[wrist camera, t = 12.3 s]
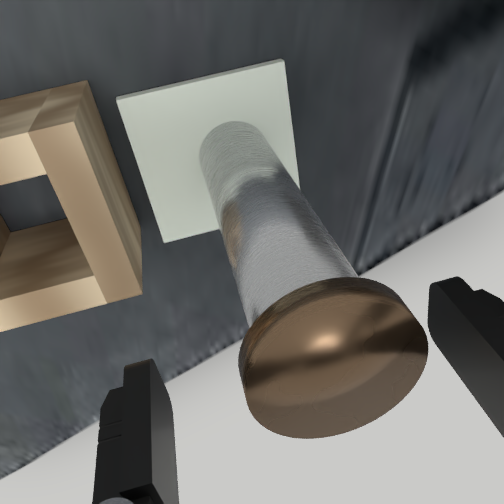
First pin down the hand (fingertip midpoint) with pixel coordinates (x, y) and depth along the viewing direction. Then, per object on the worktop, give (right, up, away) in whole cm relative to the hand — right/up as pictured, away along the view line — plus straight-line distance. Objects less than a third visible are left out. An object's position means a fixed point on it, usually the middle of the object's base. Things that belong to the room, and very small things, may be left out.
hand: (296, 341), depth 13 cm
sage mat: (-3, +8, +11) cm, 14 cm away
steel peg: (-2, +7, +11) cm, 13 cm away
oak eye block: (-12, +6, +10) cm, 17 cm away
